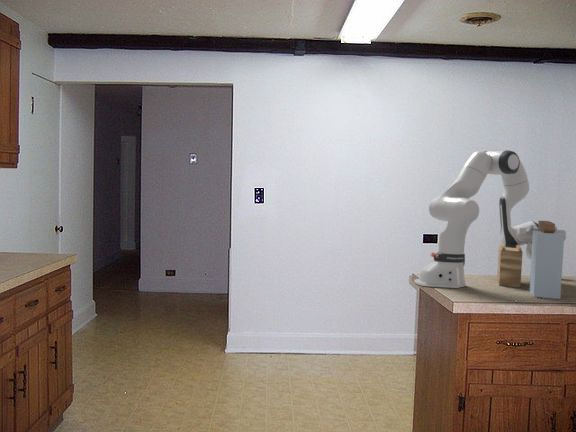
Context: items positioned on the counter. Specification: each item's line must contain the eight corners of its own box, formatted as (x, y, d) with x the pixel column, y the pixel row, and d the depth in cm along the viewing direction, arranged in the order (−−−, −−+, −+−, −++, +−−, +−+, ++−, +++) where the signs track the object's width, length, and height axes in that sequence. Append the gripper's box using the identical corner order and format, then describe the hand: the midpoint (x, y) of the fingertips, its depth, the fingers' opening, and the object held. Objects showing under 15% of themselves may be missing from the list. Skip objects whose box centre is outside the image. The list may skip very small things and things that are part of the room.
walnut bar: (554, 233, 246) (555, 223, 245) (544, 232, 247) (544, 223, 246) (547, 230, 265) (548, 221, 265) (538, 229, 266) (538, 220, 266)
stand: (560, 299, 242) (564, 234, 240) (533, 296, 245) (537, 233, 243) (554, 292, 257) (558, 231, 256) (529, 290, 260) (533, 230, 259)
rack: (520, 287, 267) (522, 248, 266) (499, 285, 270) (501, 246, 269) (517, 281, 283) (519, 244, 282) (497, 280, 285) (499, 243, 284)
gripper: (514, 233, 280) (518, 219, 268) (562, 236, 274) (568, 222, 262) (514, 245, 277) (518, 232, 265) (563, 248, 271) (568, 235, 259)
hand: (543, 227), depth 263 cm, fingers open, 8 cm apart
